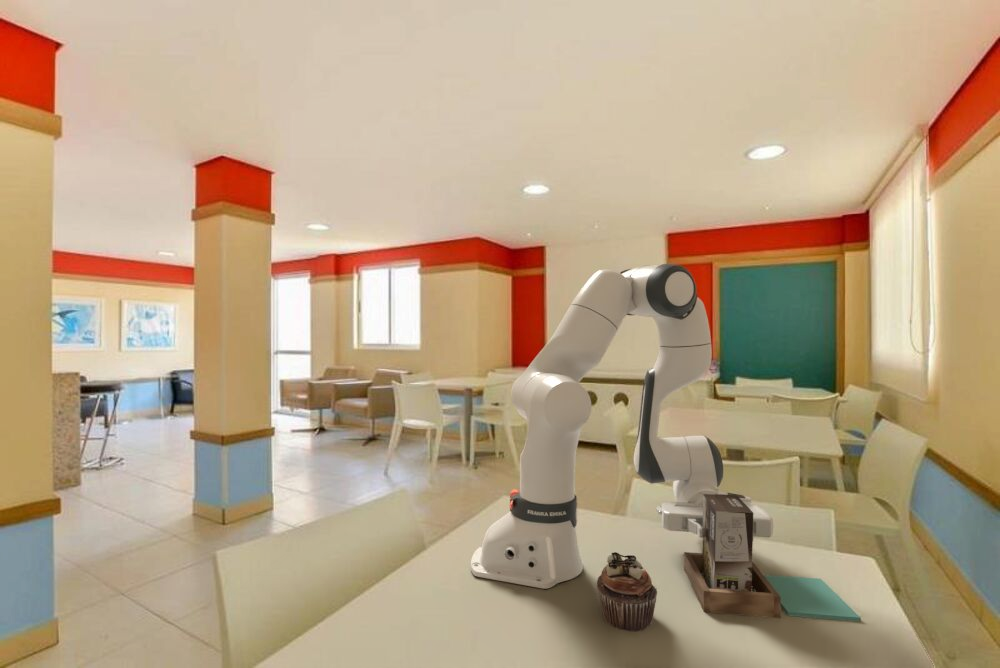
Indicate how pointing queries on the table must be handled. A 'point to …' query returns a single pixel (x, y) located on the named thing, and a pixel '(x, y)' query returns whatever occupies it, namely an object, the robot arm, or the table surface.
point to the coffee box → (727, 543)
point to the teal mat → (810, 598)
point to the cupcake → (626, 593)
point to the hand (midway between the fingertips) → (726, 535)
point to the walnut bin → (733, 593)
